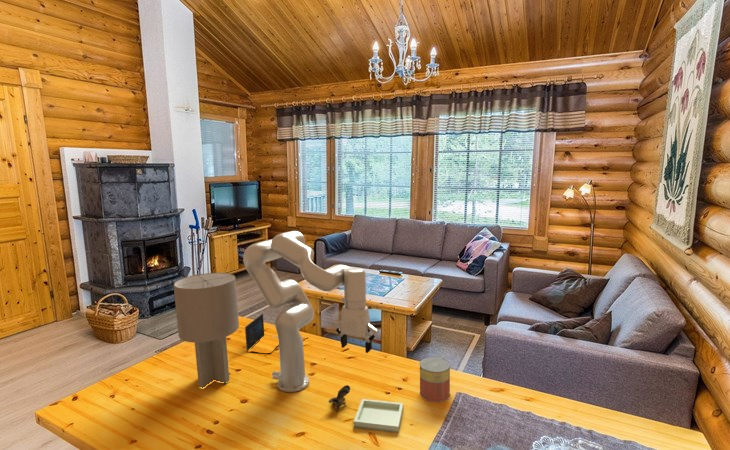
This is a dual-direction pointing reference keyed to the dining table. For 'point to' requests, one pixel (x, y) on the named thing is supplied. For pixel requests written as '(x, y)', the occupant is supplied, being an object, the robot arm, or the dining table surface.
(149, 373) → the dining table surface
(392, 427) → the tray
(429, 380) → the canned food
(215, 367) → the lamp
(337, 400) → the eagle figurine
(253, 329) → the laptop
